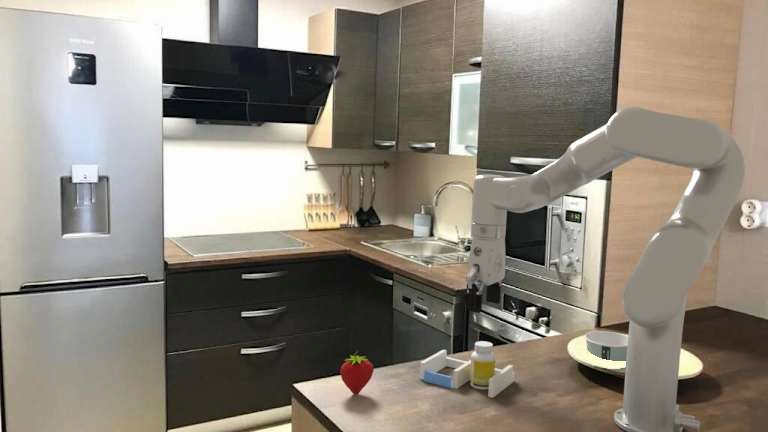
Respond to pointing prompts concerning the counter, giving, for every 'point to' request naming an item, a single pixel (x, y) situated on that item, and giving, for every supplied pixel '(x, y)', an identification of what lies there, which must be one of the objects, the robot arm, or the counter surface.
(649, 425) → the robot arm
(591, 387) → the counter surface
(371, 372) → the strawberry
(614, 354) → the food container
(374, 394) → the counter surface
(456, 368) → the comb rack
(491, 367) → the supplement bottle
